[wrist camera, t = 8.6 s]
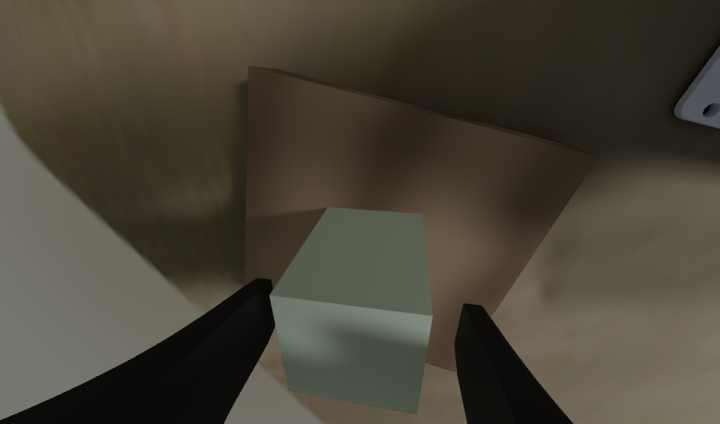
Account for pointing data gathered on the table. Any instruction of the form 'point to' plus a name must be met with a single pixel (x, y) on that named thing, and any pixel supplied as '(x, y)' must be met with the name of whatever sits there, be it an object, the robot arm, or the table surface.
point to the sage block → (357, 309)
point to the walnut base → (401, 186)
